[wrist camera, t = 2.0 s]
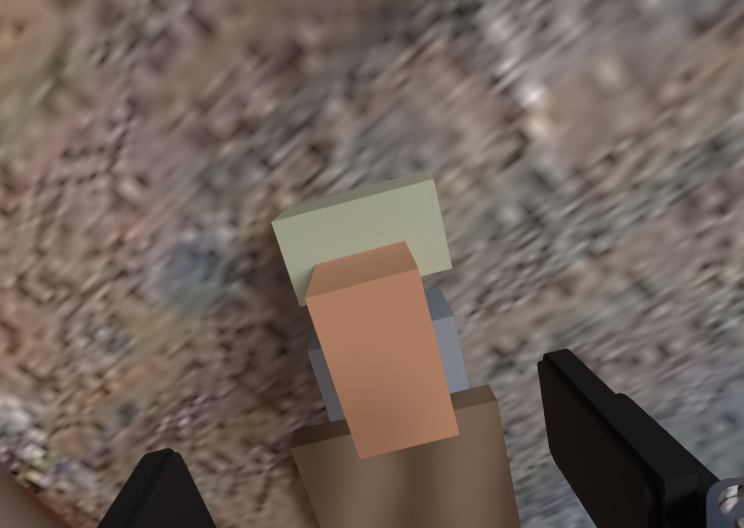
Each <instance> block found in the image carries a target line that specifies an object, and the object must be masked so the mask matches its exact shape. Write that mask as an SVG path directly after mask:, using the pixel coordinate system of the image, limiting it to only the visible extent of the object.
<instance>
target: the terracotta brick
mask: <svg viewBox="0 0 744 528" xmlns="http://www.w3.org/2000/svg"><path fill="white" fill-rule="evenodd" d="M305 301H306V304H307V306H308V309H309V312H310V315H311V318H312V321H313V324H314V327H315V330H316V333H317V336H318V339H319V342H320V344H321V347H322V350H323V353H324V356H325V359H326V362H327V365H328V368H329V371H330V374H331V377H332V380H333V382H334V385H335V388H336V391H337V394H338V397H339V400H340V403H341V406H342V409H343V412H344V415H345V418H346V420H347V423H348V426H349V429H350V432H351V435H352V438H353V441H354V444H355V447H356V450H357V453H358V456H359V459H364V458H368V457H372V456H376V455H380V454H384V453H388V452H392V451H396V450H400V449H404V448H408V447H412V446H416V445H420V444H424V443H428V442H432V441H436V440H440V439H444V438H448V437H453V436H457V435H460V434H459V430H458V426H457V422H456V418H455V414H454V410H453V406H452V402H451V398H450V394H449V390H448V386H447V381H446V377H445V373H444V369H443V365H442V361H441V357H440V353H439V349H438V345H437V341H436V337H435V333H434V329H433V325H432V321H431V317H430V313H429V309H428V305H427V300H426V296H425V292H424V288H423V284H422V280H421V276H420V272H419V268H418V266H417V264H416V262H415V260H414V258H413V256H412V254H411V252H410V250H409V248H408V246H407V244H406V241H401V242H398V243H394V244H390V245H386V246H383V247H379V248H375V249H372V250H368V251H364V252H361V253H357V254H353V255H349V256H346V257H342V258H338V259H335V260H331V261H327V262H323V263H320V264H316V266H315V269H314V272H313V275H312V278H311V281H310V284H309V287H308V290H307V293H306V297H305Z"/></svg>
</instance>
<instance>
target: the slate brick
mask: <svg viewBox="0 0 744 528" xmlns="http://www.w3.org/2000/svg"><path fill="white" fill-rule="evenodd" d="M424 292H425V296H426V300H427V305H428V309H429V313H430V317H431V321H432V325H433V329H434V333H435V337H436V341H437V345H438V349H439V353H440V357H441V361H442V365H443V369H444V373H445V377H446V381H447V386H448V390H449V394H450V393H454V392H458V391H463V390H467V389H470V388H469V383H468V378H467V374H466V369H465V364H464V359H463V354H462V350H461V345H460V340H459V335H458V331H457V326H456V321H455V316H454V314H453V312H452V310H451V309H450V307H449V305H448V303H447V301H446V299H445V298H444V296H443V294H442V292H441V290H440V289H439V287H436V288H432V289H428V290H424ZM307 353H308V356H309V359H310V362H311V365H312V368H313V371H314V374H315V377H316V380H317V383H318V386H319V388H320V391H321V394H322V397H323V400H324V403H325V406H326V409H327V412H328V415H329V418H330V421H331V422H332V421H336V420H340V419H344V418H345V415H344V412H343V409H342V406H341V403H340V400H339V397H338V394H337V391H336V388H335V385H334V382H333V380H332V377H331V374H330V371H329V368H328V365H327V362H326V359H325V356H324V353H323V350H322V347H321V344H320V342H319V339H318V336H317V333H316V330H315V327H314V325H313V329H312V333H311V337H310V342H309V346H308V350H307Z"/></svg>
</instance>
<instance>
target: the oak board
mask: <svg viewBox="0 0 744 528" xmlns="http://www.w3.org/2000/svg"><path fill="white" fill-rule="evenodd" d="M450 398H451V402H452V406H453V410H454V414H455V418H456V422H457V426H458V430H459V434H460V435H457V436H453V437H448V438H444V439H440V440H436V441H432V442H428V443H424V444H420V445H416V446H412V447H408V448H404V449H400V450H396V451H392V452H388V453H384V454H380V455H376V456H372V457H368V458H364V459H359V456H358V453H357V450H356V447H355V444H354V441H353V438H352V435H351V432H350V429H349V426H348V423H347V420H346V418H345V419H340V420H336V421H332V422H328V423H323V424H319V425H315V426H310V427H306V428H302V429H298V430H294V433H293V437H292V442H291V446H290V449H291V452H292V455H293V457H294V460H295V463H296V465H297V468H298V470H299V473H300V476H301V478H302V481H303V484H304V486H305V489H306V492H307V494H308V497H309V499H310V502H311V505H312V507H313V510H314V513H315V515H316V518H317V520H318V523H319V526H320V528H521V527H520V522H519V516H518V511H517V506H516V500H515V495H514V489H513V484H512V479H511V473H510V468H509V462H508V457H507V452H506V446H505V441H504V435H503V430H502V425H501V419H500V414H499V408H498V403H497V399H496V397H495V396H494V394H493V392H492V390H491V388H490V386H489V385H486V386H482V387H477V388H473V389H469V390H465V391H460V392H456V393H452V394H450Z"/></svg>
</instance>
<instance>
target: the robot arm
mask: <svg viewBox="0 0 744 528" xmlns="http://www.w3.org/2000/svg"><path fill="white" fill-rule="evenodd" d="M537 366H538V374H539V381H540V388H541V395H542V402H543V409H544V416H545V423H546V430H547V436H548V443H549V449H550V452H551V454H552V457H553V459H554V461H555V463H556V464H557V466H558V467H559V469H560V470H561V472H562V474H563V475H564V477H565V478H566V480H567V481H568V483H569V484H570V486H571V488H572V489H573V491H574V492H575V494H576V495H577V497H578V499H579V500H580V502H581V503H582V505H583V506H584V508H585V509H586V511H587V513H588V514H589V516H590V517H591V519H592V520H593V522H594V523H595V525H596V527H597V528H744V478H728V479H725V480H722V481H720V480H719V479H718V478H717V477H716V476H715V475H714V474H712V473H711V472H710V471H709V470H708V469H707V468H706V467H705V466H704V465H703V464H702V463H700V462H699V461H698V460H697V459H696V458H695V457H694V456H693V455H692V454H691V453H690V452H688V451H687V450H686V449H685V448H684V447H683V446H682V445H681V444H680V443H679V442H678V441H676V440H675V439H674V438H673V437H672V436H671V435H670V434H669V433H668V432H667V431H666V430H664V429H663V428H662V427H661V426H660V425H659V424H658V423H657V422H656V421H655V420H654V419H652V418H651V417H650V416H649V415H648V414H647V413H646V412H645V411H644V410H643V409H642V408H641V407H639V406H638V405H637V404H636V403H635V402H634V401H633V400H632V399H631V398H629V397H628V396H627V395H625V394H622V393H619V394H615V393H614V392H613V391H612V390H611V389H610V388H609V387H608V386H607V385H606V384H605V383H604V382H603V381H601V380H600V379H599V378H598V377H597V376H596V375H595V374H594V373H593V372H592V371H591V370H590V369H589V368H588V367H587V366H586V365H585V364H584V363H583V362H582V361H580V360H579V359H578V358H577V357H576V356H575V355H574V354H573V353H572V352H571V351H570V350H568V349H562V350H558V351H554V352H550V353H546V354H544V355H543V361H539V362H538V364H537ZM97 528H216V526H215V524H214V522H213V520H212V518H211V516H210V513H209V511H208V509H207V507H206V505H205V503H204V501H203V499H202V497H201V495H200V493H199V491H198V489H197V487H196V485H195V483H194V481H193V478H192V476H191V474H190V472H189V470H188V468H187V466H186V464H185V462H184V460H183V458H182V456H181V454H180V453H178V452H174V451H173V450H172V449H170V448H167V449H163V450H159V451H155V452H151V453H147V454H145V455H144V456H143V457H142V459H141V460H140V462H139V463H138V465H137V466H136V468H135V469H134V471H133V473H132V474H131V476H130V477H129V479H128V480H127V482H126V483H125V485H124V487H123V488H122V490H121V491H120V493H119V494H118V496H117V497H116V499H115V501H114V502H113V504H112V505H111V507H110V508H109V510H108V511H107V513H106V515H105V516H104V518H103V519H102V521H101V522H100V524H99V525H98V527H97Z"/></svg>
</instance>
